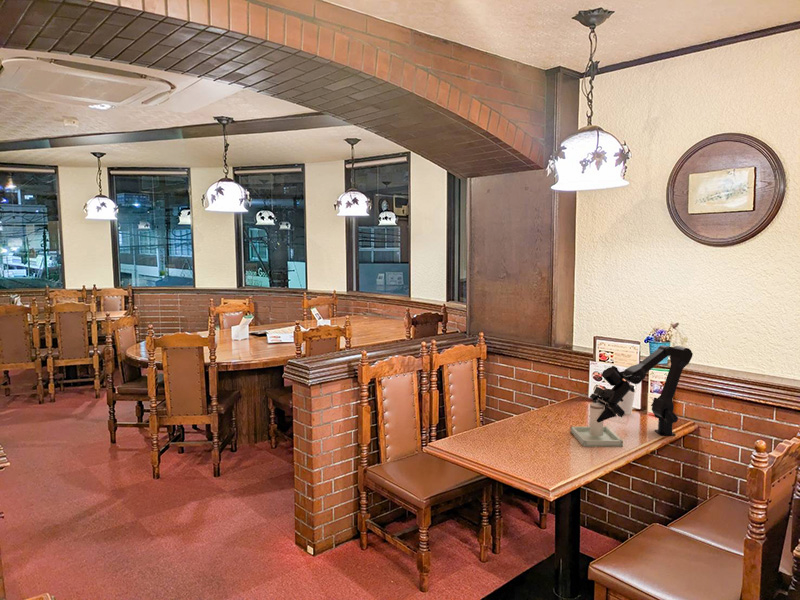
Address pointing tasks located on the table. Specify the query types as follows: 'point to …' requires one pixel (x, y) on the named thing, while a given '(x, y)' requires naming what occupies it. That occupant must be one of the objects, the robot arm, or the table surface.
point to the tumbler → (595, 412)
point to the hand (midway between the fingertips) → (593, 419)
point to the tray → (596, 438)
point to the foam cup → (627, 402)
